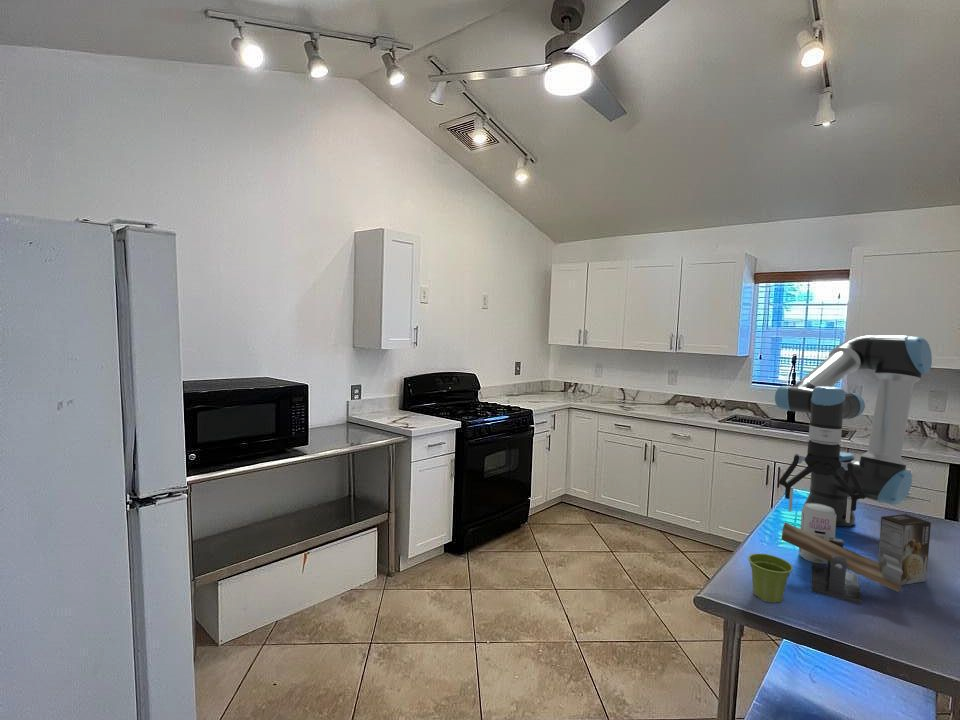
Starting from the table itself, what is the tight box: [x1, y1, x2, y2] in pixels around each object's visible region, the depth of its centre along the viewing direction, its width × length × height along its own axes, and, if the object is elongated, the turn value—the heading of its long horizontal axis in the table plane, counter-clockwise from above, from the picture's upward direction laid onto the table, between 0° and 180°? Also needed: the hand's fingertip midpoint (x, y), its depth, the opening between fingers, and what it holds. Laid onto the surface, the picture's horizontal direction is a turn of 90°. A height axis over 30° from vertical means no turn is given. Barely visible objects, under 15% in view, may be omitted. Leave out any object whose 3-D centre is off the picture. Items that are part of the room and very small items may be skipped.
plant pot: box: [747, 553, 794, 604], centre depth 124 cm, size 9×9×9 cm
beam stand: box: [810, 537, 863, 606], centre depth 130 cm, size 17×10×10 cm, turn 147°
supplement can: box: [798, 503, 837, 565], centre depth 145 cm, size 8×8×15 cm
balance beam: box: [781, 522, 903, 593], centre depth 130 cm, size 10×25×4 cm, turn 57°
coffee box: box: [877, 513, 932, 586], centre depth 134 cm, size 9×6×16 cm
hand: (818, 515), depth 144 cm, fingers open, 13 cm apart
